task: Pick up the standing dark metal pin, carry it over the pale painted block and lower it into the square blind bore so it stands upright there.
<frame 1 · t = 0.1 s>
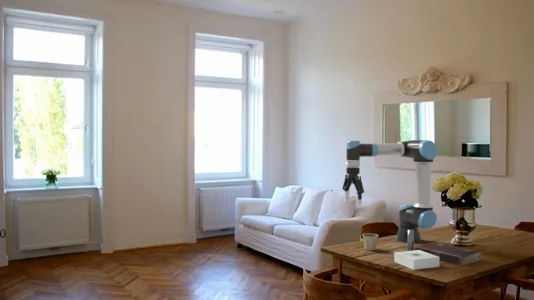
hand: (352, 203, 271), 28 cm above the table, fingers open, 13 cm apart
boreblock: (416, 264, 245), on the table
hardback book: (446, 258, 259), on the table
flower pot: (370, 249, 277), on the table
pin: (410, 254, 265), on the table
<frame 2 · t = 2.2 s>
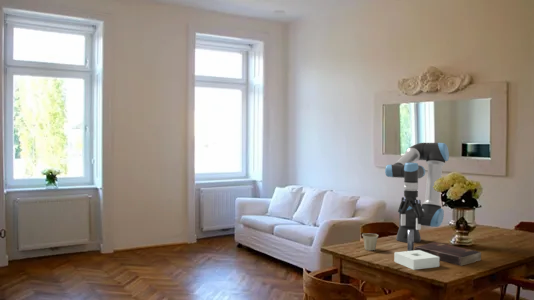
hand: (410, 227, 264), 15 cm above the table, fingers open, 13 cm apart
nothing on the table moved.
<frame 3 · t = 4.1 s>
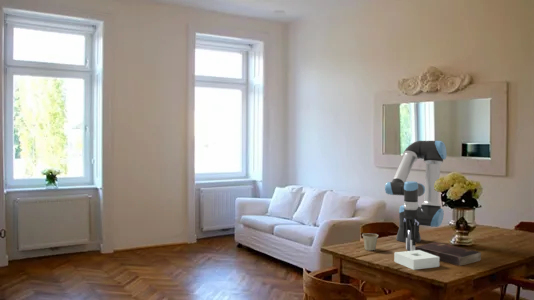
hand: (410, 249, 265), 3 cm above the table, fingers closed on pin, 3 cm apart
pin: (410, 254, 265), on the table, touching gripper
everything else where it was.
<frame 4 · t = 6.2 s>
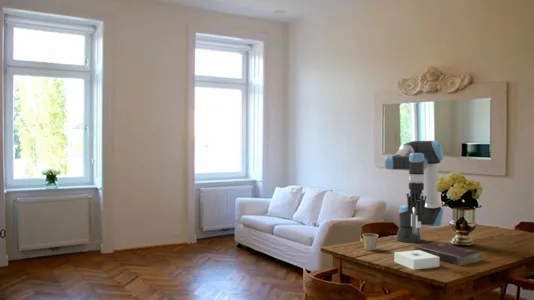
hand: (415, 226, 245), 19 cm above the table, fingers closed on pin, 3 cm apart
pin: (415, 233, 245), point 16 cm above the table, touching gripper
everything else where it was.
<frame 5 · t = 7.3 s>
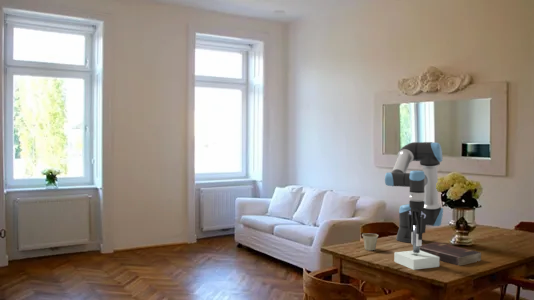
hand: (416, 244, 244), 10 cm above the table, fingers closed on pin, 3 cm apart
pin: (416, 252, 244), point 6 cm above the table, touching gripper
everything else where it was.
when the fingers open (6 cm above the table, at t = 8.4 s): pin stays where it is, resting on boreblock.
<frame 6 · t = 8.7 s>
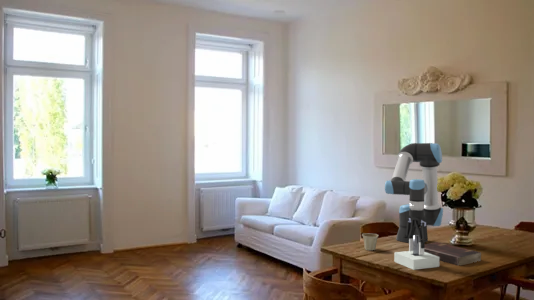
hand: (416, 252, 244), 6 cm above the table, fingers open, 7 cm apart
pin: (416, 262, 245), point 1 cm above the table, touching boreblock
everything else where it was.
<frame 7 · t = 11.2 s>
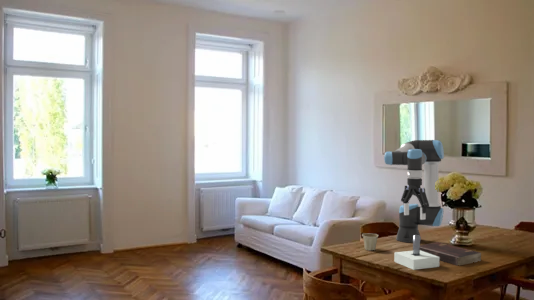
hand: (414, 217, 251), 23 cm above the table, fingers open, 13 cm apart
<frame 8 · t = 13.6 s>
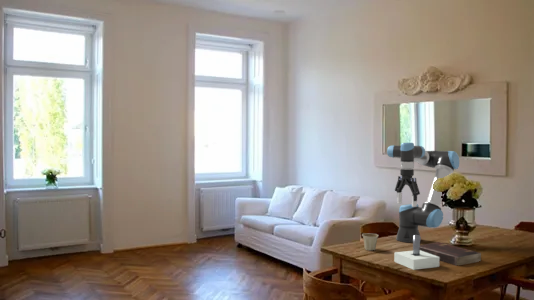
hand: (406, 205, 274), 27 cm above the table, fingers open, 13 cm apart
at the end: pin 0.0 cm off-centre on the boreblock, point 1.1 cm above the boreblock's base; pin tilted 0°; the gripper is holding nothing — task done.
